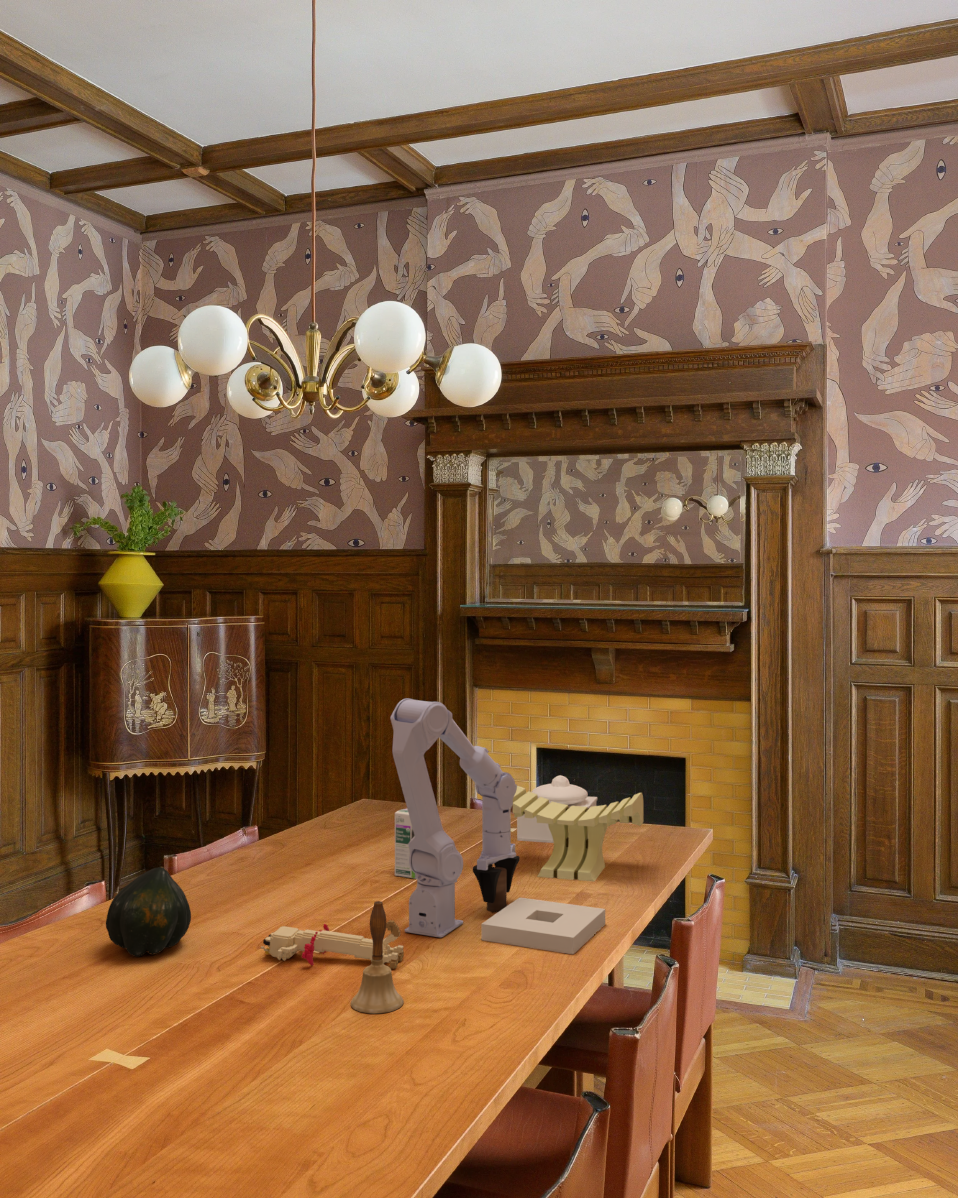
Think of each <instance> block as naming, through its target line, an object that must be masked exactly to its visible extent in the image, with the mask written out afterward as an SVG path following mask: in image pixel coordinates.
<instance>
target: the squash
mask: <svg viewBox="0 0 958 1198" xmlns="http://www.w3.org/2000/svg"><path fill="white" fill-rule="evenodd" d="M191 921H192V911H191V907H190V904H189V901H188V899H187V896H186V894H185V893H184V891H183V889H182V888H181V886H180V885H179V884H178V883H177V881H175V880H174V878H173V877H172V876H171V874H170V873H169V872H168V871H167V869H165V867H164V866H159V867H154V868H151V869H150V870H147V871H146V872H144V873H142V874H140V875H139V876H137V877H136V878H135V879H133V880H132V881H130V882H129V883H128V884H127V885H125V886H124V887H123V888H121V890H119V892H118V893H117V894H116V895H115V896H114V897H113V899H112V901H111V903H110V905H109V907H108V909H107V915H106V920H105V929H106V931H107V933H108V938H109V939H110V941H111V942H112V943H113V944H114V945H116V946H118V947H120V948H122V949H125V950H126V951H127V952H128V954H129V955H130V956H133V957H137V958H140V957H142V956H144V955H146V954H147V953H148V954H150V955H157V954H159V953H161V952H162V951H164V949H167V948H171V947H173V946H174V947H175V945H177V944H179V942H180V941H181V939H182V938H183V937H184V936H185V935H186V934H187V932H188V930H189V927H190V924H191Z"/></svg>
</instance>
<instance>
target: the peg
mask: <svg viewBox="0 0 958 1198" xmlns="http://www.w3.org/2000/svg"><path fill="white" fill-rule="evenodd" d="M493 867H494V869H501V870H502V871H501V873H500V875H499V878H498V881H497V887H496V897H495V901H494V903H488V902H486V910H487V911H488V912H492V913H498V912H499V911H501V910H502V909H504V908H505V907H506V906H508V904H507V903H508V902H507V899H508V898H507V897H508V896H507V870H506V869H505V868H501V867H495V866H493Z"/></svg>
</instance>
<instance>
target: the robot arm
mask: <svg viewBox="0 0 958 1198" xmlns="http://www.w3.org/2000/svg"><path fill="white" fill-rule="evenodd" d="M389 718H390V722H391V725H392V726H391V727H392V730H393V738H392V751H391V752H392V757H393V761H394V764H395V767H396V771H397V775H398V779H399V782H400V786H401V790H402V794H403V797H404V801H405V805H406V809H408V813H409V816H410V820H411V824H412V827H413V831H414V835H415V836H414V837H413V838H412V839H411V841H410V842H409V843H408V845H409V850H410V856H409V865H410V868H411V870H412V871H413V872H414V873H415V879H414V880H417V881H416V882H417V883H416V888H415V890H414V891H413V892H412V893H411V894H410V897H409V898H408V899H409V900H408V927H406V928H405V929H404V932H405V933H411V934H416V935H423V936H429V937H436V938H443V937H445V936H446V935H448V934H449V933H451V932H453V930H455V929H457V928H458V927H460V926H461V925H463V924H464V920H460V919H456V913H455V912H456V901H455V900H456V889H455V888H456V883H458V879H459V878H460V876H461V875H462V872H463V870H464V869H463V868H464V859H463V856H462V853H460V852H459V850H458V849H457V847H456V844H455V841H454V840H453V839H452V837H451V836H450V835H449V834H447V833H446V831H445V830H444V828H443V825H442V820H441V816H440V813H439V809H438V806H437V802H436V798H435V794H434V791H433V787H432V782H431V778H430V776H429V771H428V768H427V767H428V766H427V763H426V760H425V753H426V752H427V751H428V750H429V749H430V748H431V747H432V746H433V745H434V744H435V742H436V741H437V740H438V739H440V740H441V741H442V742H443V743H444V744H445V745H446V746H447V747H448V748H450V749H451V751H452V752H454V753H455V755H457V756H458V757H459V758H460V759H459V766H460V768H461V769H462V770H463V771H464V773H465V774H467V775H468V777H469V778H470V779H471V780H472V781H473V782H474V784H475V790H476V793H477V795H480V796H481V797H482V798H481V801H482V803H481V805H482V810H481V811H482V812H481V813H482V815H481V817H482V818H481V819H482V822H481V823H482V826H481V827H482V833H481V835H482V836H481V837H482V838H481V839H482V850H481V852H480V855H479V858H478V859H476V865H474V866H472V873H473V874H474V876H475V878H476V881H477V882H478V886H479V888H480V892H481V897H482V901H483V902H484V903H487V902H488V903H494V901H495V897H496V887H497V881H498V878H499V875H500V873H501V871H502V870H501V869H494V867H501V868H505V869H506V870H507V893H510V891H511V889H512V888H511V887H512V882H513V877H514V874H515V872H516V868H517V866H518V864H519V862H520V859H521V857H520V856H519V855H517V853H516V843H511V839H512V836H511V833H512V832H511V829H512V828H511V825H512V823H511V821H512V819H511V812H512V811H511V809H513V806H512V805H513V797H514V795H515V793H516V790H517V786H518V784H516V781H515V779H514V778H513V776H512V774H511V773H510V772H506V771H503V770H502V769H501V765H500V764H499V763H498V762H495V760H494V759H493V758H492V757H491V756H490V755H489V750H488V748H486V747H483V746H480V745H473V744H472V742H471V741H470V740H469V739H468V737H467V735H466V734H465V733H464V732H463V730H462V729H461V728H460V727H459V725H457V723H456V722H455V720H454V719H453V712H451V711H450V710H449V709H447V707H446V705H445V704H443V703H442V702H440V701H426V700H418V699H413V698H409V697H408V698H407V697H406V698H403V699H402V700H400V701H399V702H398V703H397V704H396V705H395V707H394V710H393V711H392V713H391V715H390V717H389Z"/></svg>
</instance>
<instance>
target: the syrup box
mask: <svg viewBox="0 0 958 1198" xmlns="http://www.w3.org/2000/svg"><path fill="white" fill-rule="evenodd" d="M414 836H415V835H414V831H413V827H412V824H411V820H410V816H409V813H408V809H407V808H403V809H402V808H401V809H399V810H397V811H396V812H394V876H395V877H403V878H408V879H410V878H411V879H414V880H416V879H415V873H414V872H413V871H412V870H411V868H410V865H409V856H410V850H409V845H408V843H409V842H410V841H411V839H412V838H413V837H414Z"/></svg>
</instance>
